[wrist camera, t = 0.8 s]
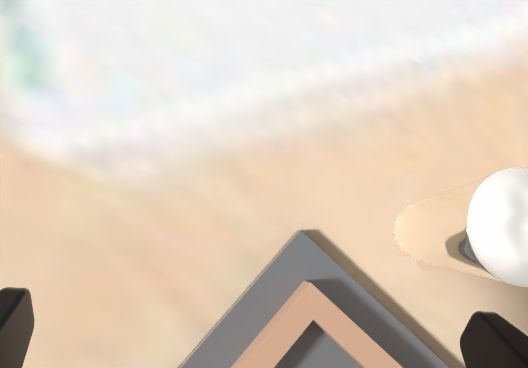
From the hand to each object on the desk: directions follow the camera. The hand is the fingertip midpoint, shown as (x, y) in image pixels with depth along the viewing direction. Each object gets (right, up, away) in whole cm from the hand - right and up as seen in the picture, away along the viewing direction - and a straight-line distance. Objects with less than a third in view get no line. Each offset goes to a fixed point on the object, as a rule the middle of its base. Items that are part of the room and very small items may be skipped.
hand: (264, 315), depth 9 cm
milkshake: (+9, 0, +16) cm, 18 cm away
